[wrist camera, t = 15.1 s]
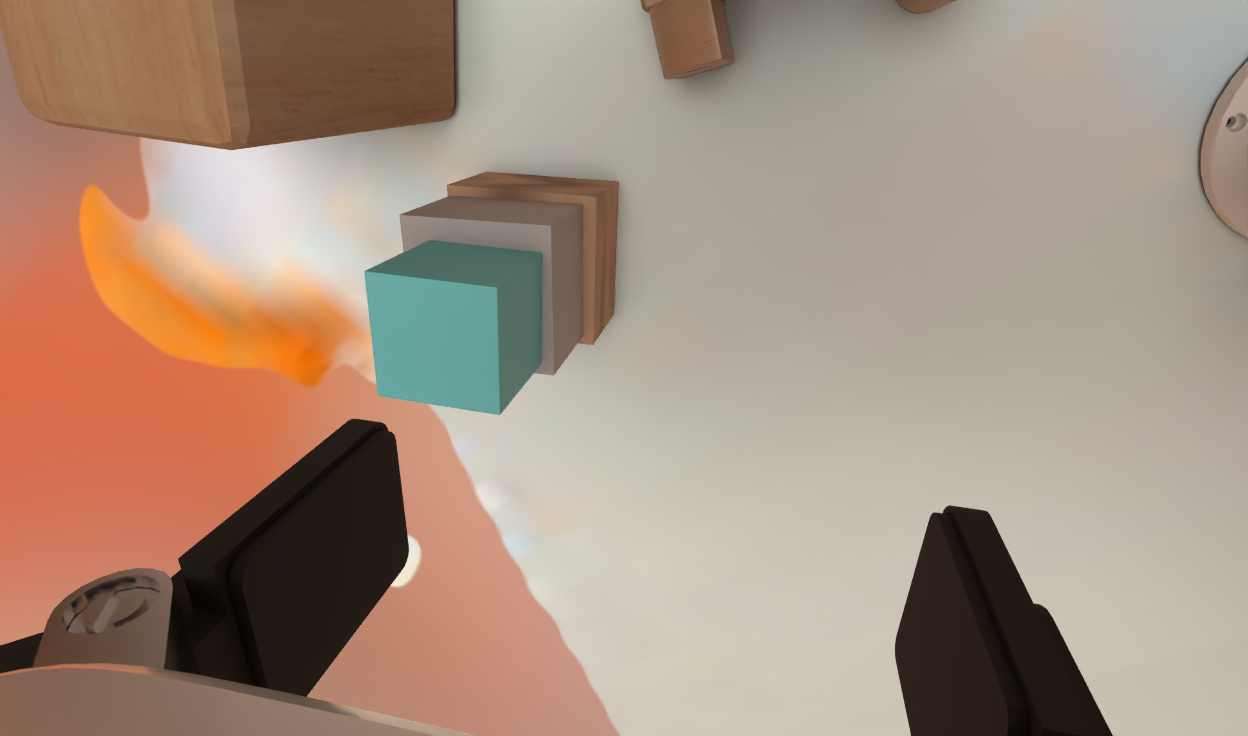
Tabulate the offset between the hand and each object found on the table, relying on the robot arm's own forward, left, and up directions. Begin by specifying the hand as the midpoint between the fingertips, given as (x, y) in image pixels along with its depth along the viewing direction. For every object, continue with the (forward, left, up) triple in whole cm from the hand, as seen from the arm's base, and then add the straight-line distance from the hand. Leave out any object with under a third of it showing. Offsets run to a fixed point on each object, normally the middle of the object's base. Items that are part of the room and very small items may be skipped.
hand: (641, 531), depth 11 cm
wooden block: (+23, -9, -34) cm, 42 cm away
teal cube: (+12, +4, -22) cm, 25 cm away
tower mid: (+12, +4, -28) cm, 30 cm away
